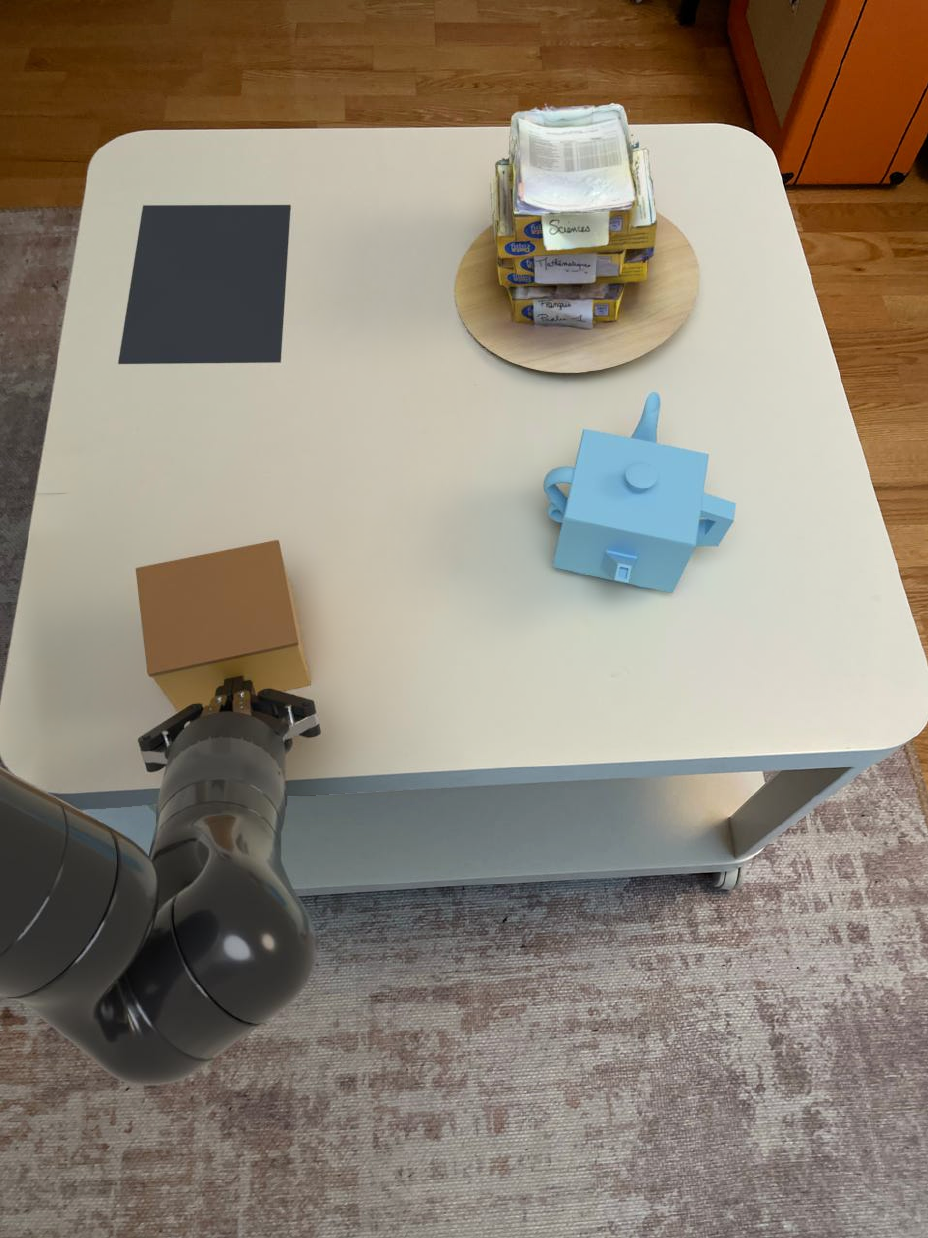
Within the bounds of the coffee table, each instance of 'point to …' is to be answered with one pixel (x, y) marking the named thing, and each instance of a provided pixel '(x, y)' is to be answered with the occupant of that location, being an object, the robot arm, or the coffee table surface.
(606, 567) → the teapot
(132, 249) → the coffee table surface
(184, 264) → the mat
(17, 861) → the robot arm
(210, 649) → the toy box
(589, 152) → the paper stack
